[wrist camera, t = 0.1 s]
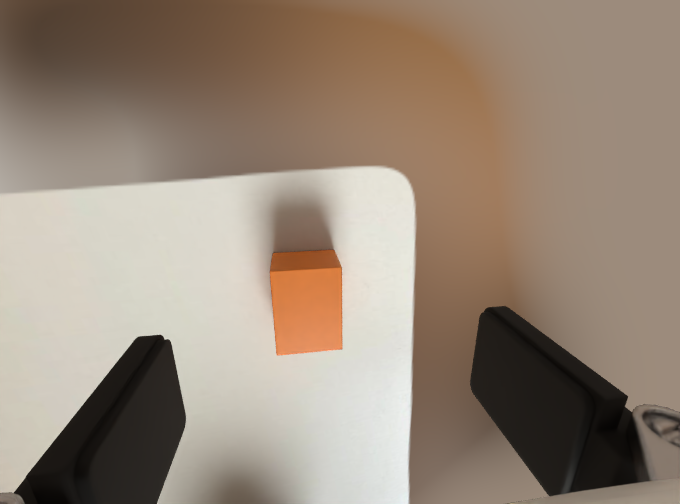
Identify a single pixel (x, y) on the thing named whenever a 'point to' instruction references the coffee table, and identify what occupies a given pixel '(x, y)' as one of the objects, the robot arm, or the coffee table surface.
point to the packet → (306, 301)
